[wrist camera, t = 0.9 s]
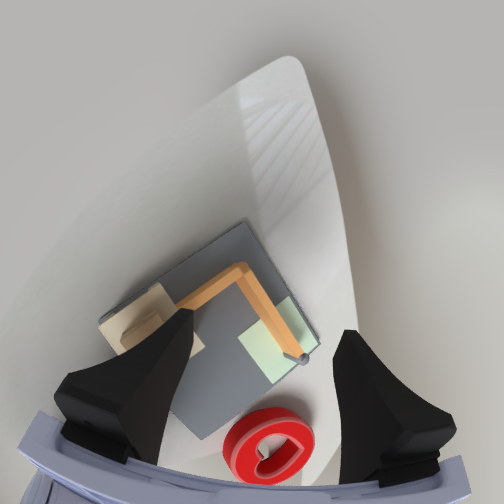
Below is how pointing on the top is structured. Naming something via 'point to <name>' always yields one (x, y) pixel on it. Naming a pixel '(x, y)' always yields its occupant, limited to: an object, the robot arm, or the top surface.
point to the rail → (257, 300)
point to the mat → (220, 332)
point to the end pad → (268, 349)
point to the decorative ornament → (258, 428)
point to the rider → (141, 321)
